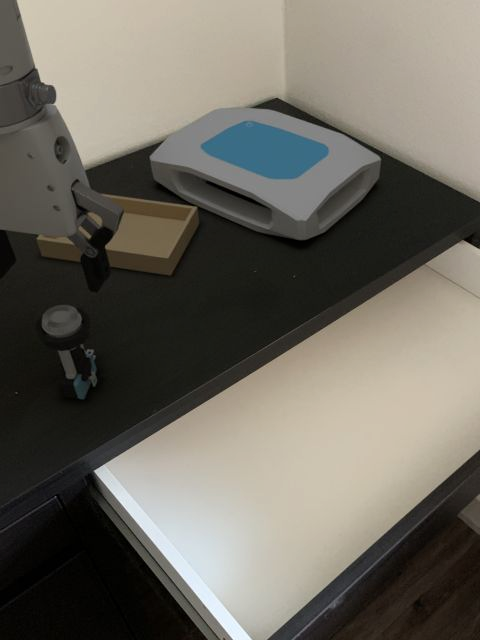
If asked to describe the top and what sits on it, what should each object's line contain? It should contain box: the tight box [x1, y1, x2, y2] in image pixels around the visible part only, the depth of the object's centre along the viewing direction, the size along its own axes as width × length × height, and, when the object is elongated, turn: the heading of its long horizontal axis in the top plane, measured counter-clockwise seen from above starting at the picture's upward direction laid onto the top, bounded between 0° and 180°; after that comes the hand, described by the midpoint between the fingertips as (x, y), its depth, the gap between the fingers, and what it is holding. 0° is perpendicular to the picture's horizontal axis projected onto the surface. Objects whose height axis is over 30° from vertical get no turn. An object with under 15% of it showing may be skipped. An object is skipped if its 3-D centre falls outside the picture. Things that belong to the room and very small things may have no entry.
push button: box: [34, 304, 98, 400], centre depth 70 cm, size 7×5×10 cm
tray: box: [35, 193, 200, 277], centre depth 91 cm, size 18×12×3 cm
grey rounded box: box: [149, 106, 382, 241], centre depth 99 cm, size 21×28×6 cm
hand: (52, 276), depth 63 cm, fingers open, 9 cm apart
